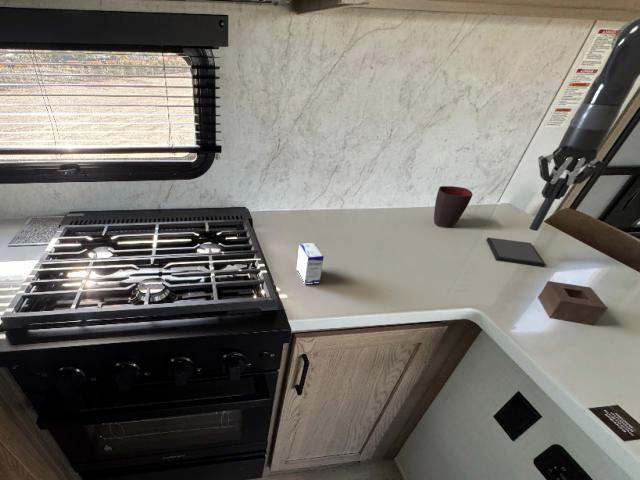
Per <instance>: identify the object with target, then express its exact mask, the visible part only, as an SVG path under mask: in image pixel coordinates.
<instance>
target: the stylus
mask: <svg viewBox="0 0 640 480" xmlns="http://www.w3.org/2000/svg"><path fill="white" fill-rule="evenodd" d="M565 180H566V179H565V177H561V176H560V177H559V179H558V180H557V182H556V183H555V187H554V188H553V190H552V192H551V194H550V196H549V198H544V200H543V202H542V203H541V205H540V207H539V209H538V211H537V213H536V214H535V217H534V219H533V220H532V222H531V224H530V226H529V230H531V231H539V229H540V227H541V226H542V223H543V222H544V220H545V218H546V216H547V214H548V213H549V211H550V210H551V207H552V205H553V204H554V202H555V200H556V199H555V198H556V197H557V195H558V193H559V191H560V189H561V188H562V186H563V184H564V182H565Z"/></svg>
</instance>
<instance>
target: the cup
mask: <svg viewBox="0 0 640 480" xmlns="http://www.w3.org/2000/svg"><path fill="white" fill-rule="evenodd" d="M473 195H474V194H473V192H472V191H471V190H470V189H468V188H466V187H461V186H452V185H451V186H450V185H442V186H441V185H440V187H439V188H438V190H437V194H436V197H435V204H434V211H433V223H434V225H435V226H437V227H439V228H446V229H447V228H449V229H451V228H453V227H454V226H455V225H456V224H457V223H458V221H459V220H460V218H461V217H462V215H463V214H464V212H465V211H466V209H467V207H468V206H469V204H470V202H471V200H472V197H473Z"/></svg>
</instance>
